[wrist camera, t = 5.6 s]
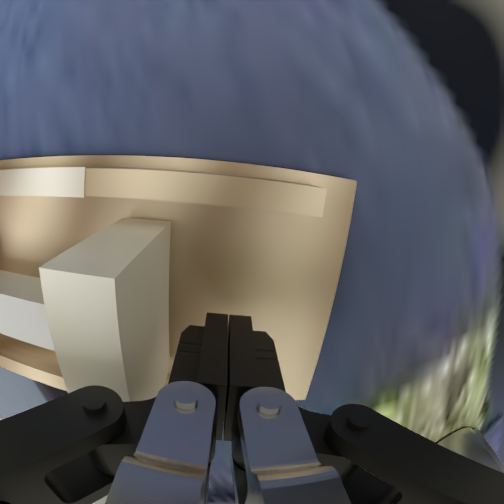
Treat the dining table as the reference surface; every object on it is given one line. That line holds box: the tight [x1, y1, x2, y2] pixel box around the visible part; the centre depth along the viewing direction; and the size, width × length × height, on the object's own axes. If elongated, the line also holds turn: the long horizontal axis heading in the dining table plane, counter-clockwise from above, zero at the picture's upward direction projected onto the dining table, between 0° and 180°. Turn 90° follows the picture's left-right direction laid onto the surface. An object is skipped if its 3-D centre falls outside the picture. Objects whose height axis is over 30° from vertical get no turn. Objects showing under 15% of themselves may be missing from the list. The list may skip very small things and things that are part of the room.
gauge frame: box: [0, 155, 357, 400], centre depth 9 cm, size 24×12×9 cm, turn 83°
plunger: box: [0, 218, 171, 402], centre depth 9 cm, size 10×7×6 cm
